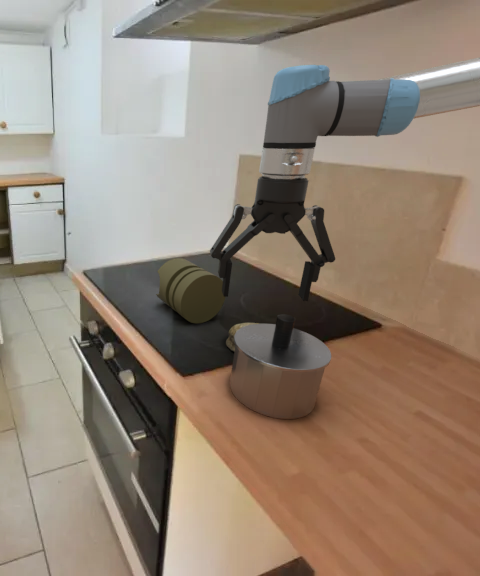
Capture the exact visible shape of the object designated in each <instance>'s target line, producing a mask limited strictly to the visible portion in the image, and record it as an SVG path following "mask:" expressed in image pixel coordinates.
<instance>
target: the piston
mask: <svg viewBox="0 0 480 576" xmlns="http://www.w3.org/2000/svg"><path fill="white" fill-rule="evenodd" d="M157 273H158V276H159V287H158V293H156V294H155V295H156V297H157V298H158V299H159V300H161V302H162V303H164V304H166V305H167V306H168V307H169V308H171V309H172V310H173V311H175V313H177V314H178V315H180V316H181V317H182V318H183V319H185V320H186V321H188V322H189V323H191V324H203V323H206V322H208V321H210V320H212V319H213V318H215V316H217V314H219V312H220V311H221V309H222V307H223V306H224V303H225V301H226V297H224V296H223V293H222V284H223V279H222V278H220V277H219V276H217V275H215V274H214V273H212V272H209V271H207V270H206V269H204V268H202V267H200V266H198V265H197V264H195V263H193V262H191V261H189V260H187V259H185V258H182V257H176V258H175V257H174V258H171V259H169V260H167V261H166V262H164V263H163V264H162V265H161V266H160V267H159V268H158V270H157Z"/></svg>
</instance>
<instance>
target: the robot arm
mask: <svg viewBox="0 0 480 576" xmlns="http://www.w3.org/2000/svg"><path fill="white" fill-rule="evenodd" d="M330 72H331V70H330V68H329V66H327V65H325V64H319V65H318V64H304V65H303V64H302V65H294V66H288V67H285V68H282V69H280V70H278V71H277V72H276V73H275V75H274V76H273V80H272V84H271V88H270V89H271V90H270V93H269V99H268V102H267V112H266V113H267V114H266V124H265V129H264V138H263V144H262V149H261V156H260V163H259V169H258V173H259V174H261V176H259V178H258V179H257V182H256V190H255V196H254V203H253V204H252V206H244V205H241V204H240V203H237V204H235V205H234V207H233V211H232V215H231V217H230V218H229V220H228V221H227V223H226V225H225V226H224V228H223V229H222V231H221V233H220V234H219V236H218V238H217V239H216V240H215V242H214V243H213V245H212V246H211V248H210V249H209V254H210V256H211V258H213V259H216V260H219V261H218V269H217V275H218V277H219V278H220V279H222V281H223V284H222V293H223V296H224V297H225V298H228V297H229V292H230V286H231V285H230V283H231V278H232V277H231V275H232V269H233V268H232V267H233V262H232V260H231V259H232V258H233V257H234V256H235V255H236V254H237V253H238V252H239V251H240V250H241V249H243V247H244V246H246V245H247V244H248V243H249V242H250V241H251V240H252V239H253V238H254V237H256V236H258V235H260V233H262V232H263V233H265V234H274V233H276V234H281V235H285V234H286V233H289V232H290V234H292V236H293V237H294V239H295V240H296V242H297V244H298V245H300V247H301V249H302V250H303V251H304V253H305V254H306V256H307V257H308V258H309V260H310V261H309V260H306V261H304V265H303V270H302V275H301V280H300V285H299V289H298V297H300V299H301V300H302V301H303V302H309V298H310V293H311V288H312V283H317V282H318V280H319V276H320V272H321V268H323V267H324V266H325V264H327V263H334V262H335V261H336V255H335V253H334V249H333V246H332V243H331V240H330V237H329V234H328V231H327V229H326V224H325V222H324V221H325V220H324V218H325V209H324V208H323V207H321V206H320V205H317V204H315V205H312V206H309V207H305V201H306V196H307V191H308V187H309V186H308V185H309V180H308V177H306V176H308V175H310V174H311V170H312V165H313V160H314V159H313V158H314V154H315V149H316V146H317V139H318V137H371V136H372V137H377V138H378V137H381V136H394V135H398V134H400V133H402V132H404V131H405V130H406V129H407V128H408V127H409V126H410V125H411V124H412V122H413V120H414V119H419V118H423V117H429V116H435V115H440V114H445V113H450V112H457V111H460V110H466V109H472V108H476V107H480V57H475V58H470V59H465V60H462V61H457V62H452V63H448V64H443V65H439V66H434V67H429V68H425V69H421V70H420V69H419V70H415V71H411V72H407V73H406V72H405V73H402V74H397V75H393V76H388V77H385V78H380V79H370V80H369V79H368V80H367V79H366V80H350V81H338V80H336V81H335V80H330V79H331V77H330ZM248 215H251V218H252V219H253V220H252V221H251V223H249V224H248V225H247V226H246V228H245V229H244V230H243V231H242V232H241V233H240V234H239V235H238V236H237V237H236V238H234V240H232V242H231V243H230V244H228V242H229V241H230V239H231V238H232V236H233V235H234V233H235V232H236V230H237V229H238V227H239V226H240V224H241V222H242V220H245V219H246V218H247V216H248ZM305 216H306V219H308V220H309V221H310V224H311V227H312V230H313V232H314V235H315V239H316V243H317V245H318V247H319V251H320V254H319V253H318V252H317V250H316V249H315V248H314V246H313V244H312V243H311V242H310V240H309V239H308V238H307V236H306V234H305V233H304V231H303V230H302V229H301V227H300V226H299V225H298V223H299V222H300V221H301V220H302V219H303V218H305ZM227 244H228V245H227ZM226 245H227V246H226Z"/></svg>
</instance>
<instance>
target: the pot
mask: <svg viewBox="0 0 480 576" xmlns="http://www.w3.org/2000/svg"><path fill="white" fill-rule="evenodd" d="M233 352H234V351H233ZM232 358H233V359H232V366H231V371H230V378H229V387H230V388H229V389H230V391H231V393H232V395H233V396H234V397H235V399H237V400H238V402H239V403H240V404H242V405H244V406H245V407H246V408H248V409H250V410H251V411H253V412H255V413H257V414H260V415H262V416H267V417H269V418H273V419H280V420H297V419H301V418H304V417H306V416H308V415H309V414H310V413H311V412H313V410H314V408H315V406H316V402H317V398H318V395H319V392H320V387H321V383H322V380H323V376H324V372H325V368H326V367H325V368H323V369H321V370H318V371H313V372H289V371H283V370H278V369H274V368H271V367H268V366H265V365H262V364H260V363H258V362H255V361H253V360H252V359H250V358H248V357H247V356H245V355H244V354H243V353H241V352H240V351H239V350H238V348H237V347H236V346H235V352H234V353H233V357H232Z"/></svg>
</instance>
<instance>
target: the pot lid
mask: <svg viewBox="0 0 480 576" xmlns="http://www.w3.org/2000/svg"><path fill="white" fill-rule="evenodd" d="M276 317H277V318H276V321H275V323H258V324H252V325H247V326H244V327H242V328H240V329H239V330H237V332H236V333H235V335H234V343H235V345H236V347H237V348H238V350H239V351H240V352H241V353H243V354H244V355H245V356H247V357H248V358H250V359H252V360H253V361H255V362H258V363H260V364H262V365H265V366H268V367H271V368H274V369H278V370H283V371H289V372H313V371H318V370H321V369H323V368H326V367H328V366H329V365H330V363H331V360H332V352H331V350H330V348H329V347H328V346H327V344H325V343H324V342H323V341H322V340H320V339H319V338H317V337H316V336H314V335H312V334H310V333H307V332H305V331H303V330H300V329H298V328H295V323H296V318H295V317H294V316H292V315H290V314H286V313H281V314H278V315H277V316H276Z"/></svg>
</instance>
